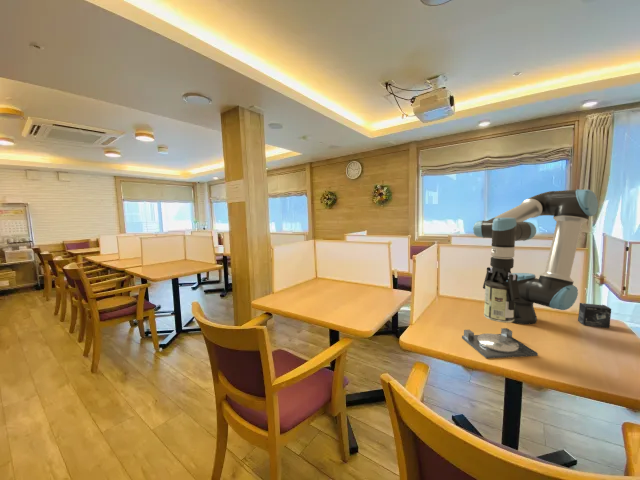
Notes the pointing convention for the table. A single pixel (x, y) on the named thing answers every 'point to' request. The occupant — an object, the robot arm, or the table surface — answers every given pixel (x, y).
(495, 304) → the coffee can
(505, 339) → the flange plate
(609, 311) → the box
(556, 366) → the table surface
